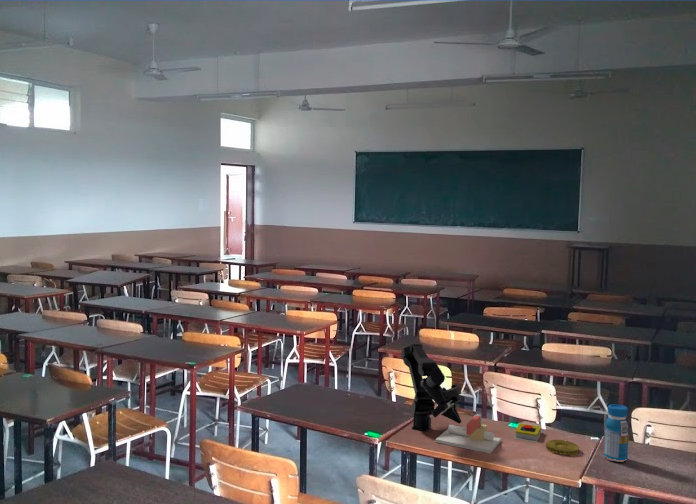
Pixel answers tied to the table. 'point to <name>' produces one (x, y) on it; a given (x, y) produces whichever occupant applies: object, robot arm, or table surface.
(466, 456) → the table surface
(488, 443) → the board
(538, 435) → the emergency button
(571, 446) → the olive round disc
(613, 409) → the beverage bottle
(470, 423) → the lever
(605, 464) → the table surface
